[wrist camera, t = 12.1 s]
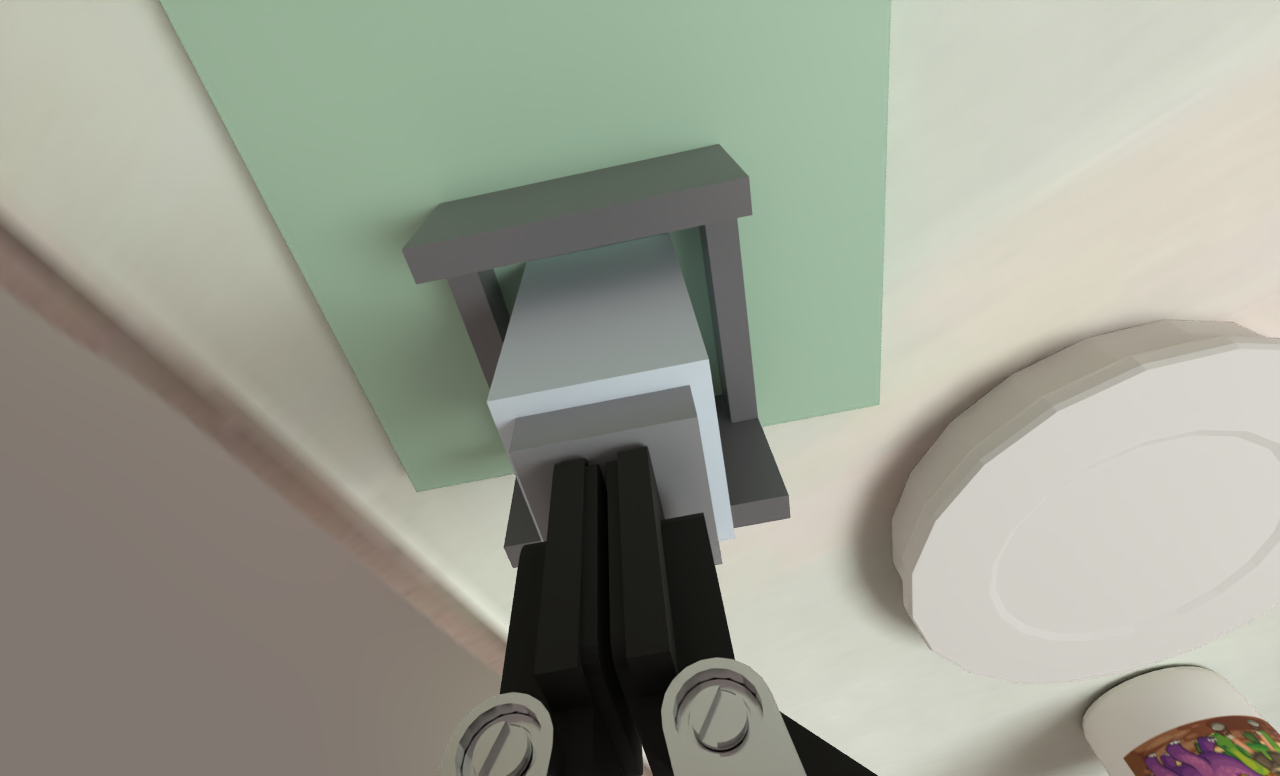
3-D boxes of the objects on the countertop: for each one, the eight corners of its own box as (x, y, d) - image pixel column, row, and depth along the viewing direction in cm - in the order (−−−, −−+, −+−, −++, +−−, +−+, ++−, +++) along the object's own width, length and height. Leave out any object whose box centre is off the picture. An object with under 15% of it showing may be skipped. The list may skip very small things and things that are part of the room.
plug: (526, 262, 17) (476, 435, 10) (669, 232, 16) (718, 389, 10) (571, 408, 19) (556, 624, 13) (694, 385, 19) (747, 591, 12)
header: (439, 203, 16) (381, 274, 12) (719, 144, 15) (765, 194, 11) (530, 451, 20) (513, 567, 16) (749, 409, 20) (790, 518, 16)
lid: (999, 692, 33) (1033, 749, 30) (798, 491, 24) (822, 547, 21) (1357, 530, 27) (1434, 584, 25) (1263, 196, 19) (1369, 225, 16)
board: (21, -339, 11) (-37, -374, 10) (878, -571, 10) (909, -634, 9) (424, 469, 22) (416, 492, 21) (865, 385, 21) (879, 404, 20)
